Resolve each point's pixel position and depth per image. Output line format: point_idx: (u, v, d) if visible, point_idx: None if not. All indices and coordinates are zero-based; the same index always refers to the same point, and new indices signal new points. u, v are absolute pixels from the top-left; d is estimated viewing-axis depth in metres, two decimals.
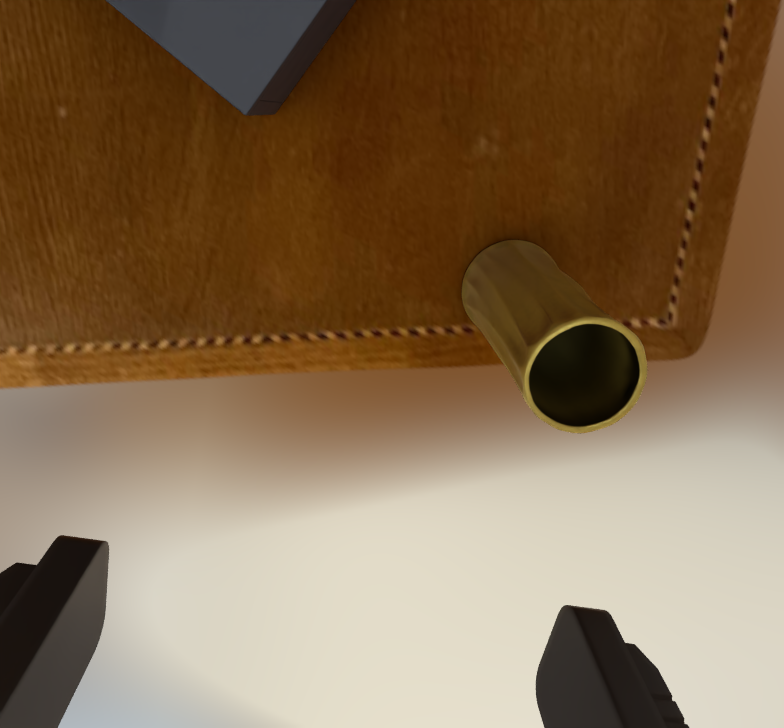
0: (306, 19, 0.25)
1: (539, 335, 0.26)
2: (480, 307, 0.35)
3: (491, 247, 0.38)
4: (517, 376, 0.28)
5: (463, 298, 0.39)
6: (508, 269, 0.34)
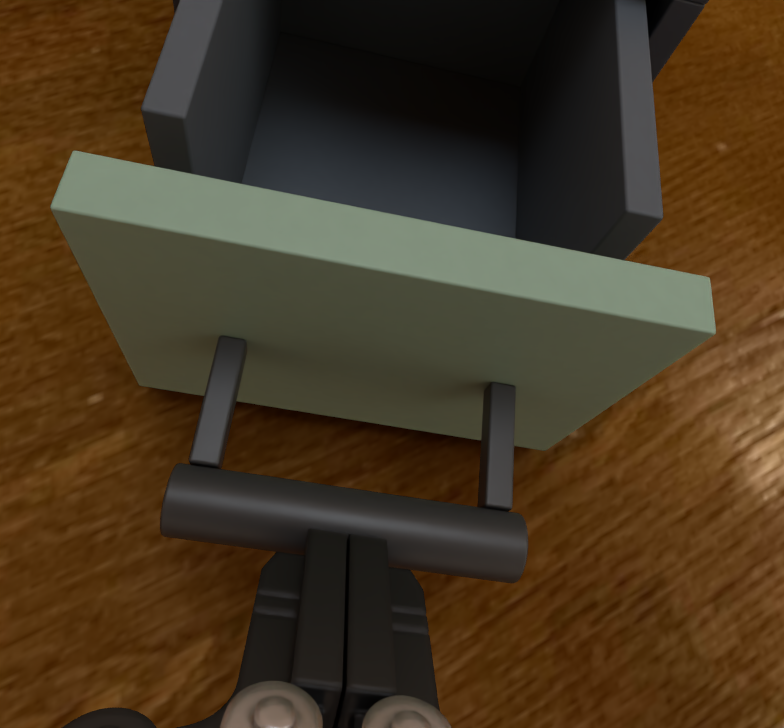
0: None
1: None
2: None
3: None
4: None
5: None
6: None
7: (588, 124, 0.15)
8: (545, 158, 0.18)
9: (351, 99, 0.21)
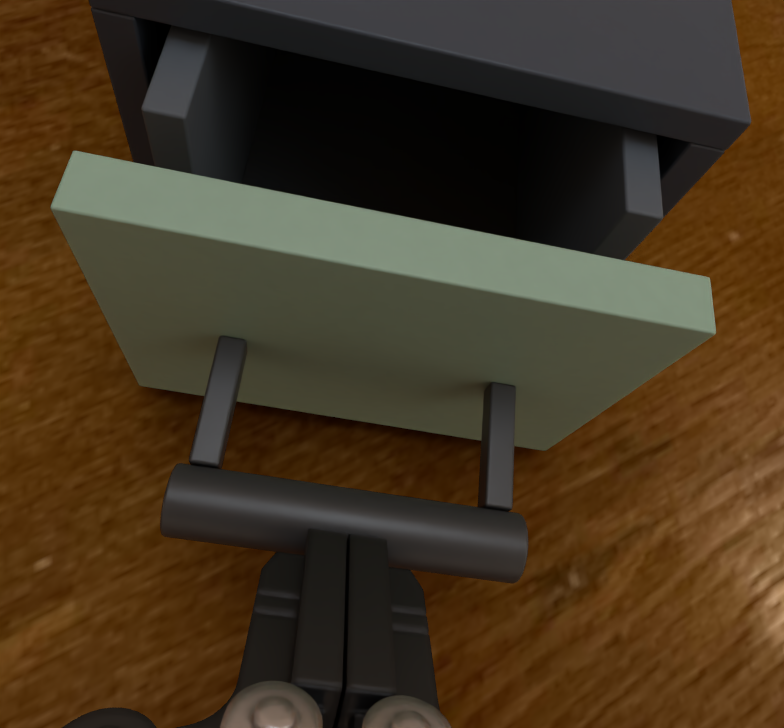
0: None
1: None
2: None
3: None
4: None
5: None
6: None
7: (588, 124, 0.15)
8: (545, 158, 0.18)
9: (351, 99, 0.21)
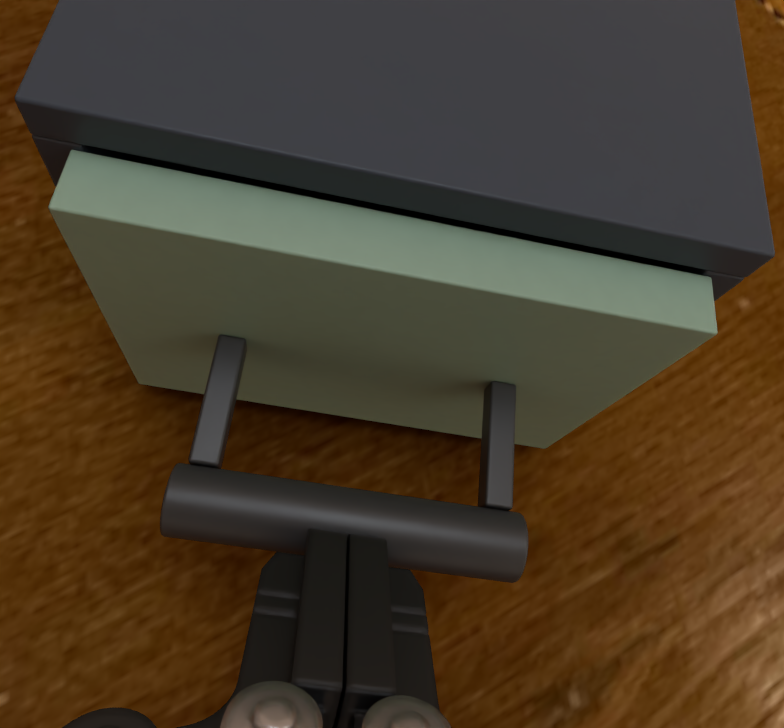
0: None
1: None
2: None
3: None
4: None
5: None
6: None
7: None
8: None
9: None
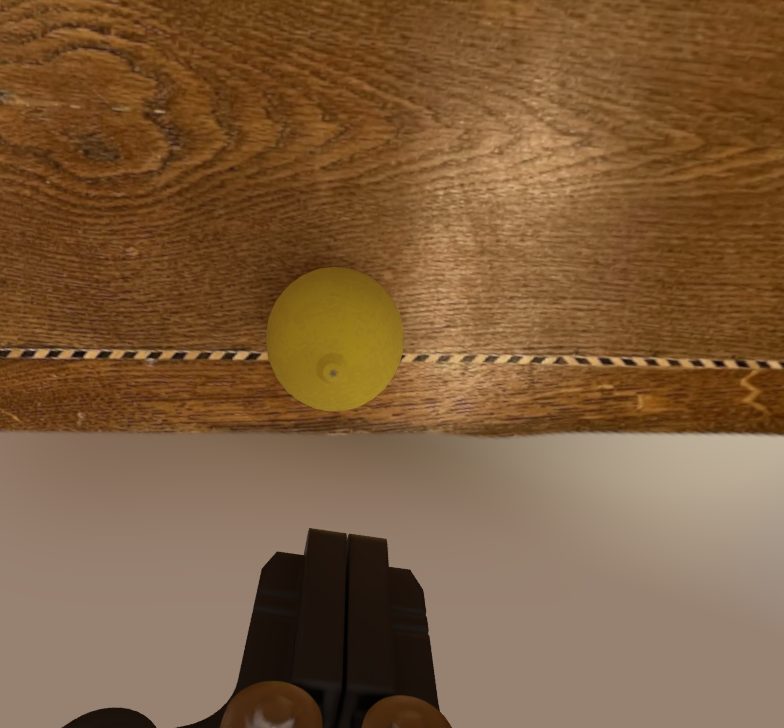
0: None
1: None
2: None
3: None
4: None
5: None
6: None
7: None
8: None
9: None
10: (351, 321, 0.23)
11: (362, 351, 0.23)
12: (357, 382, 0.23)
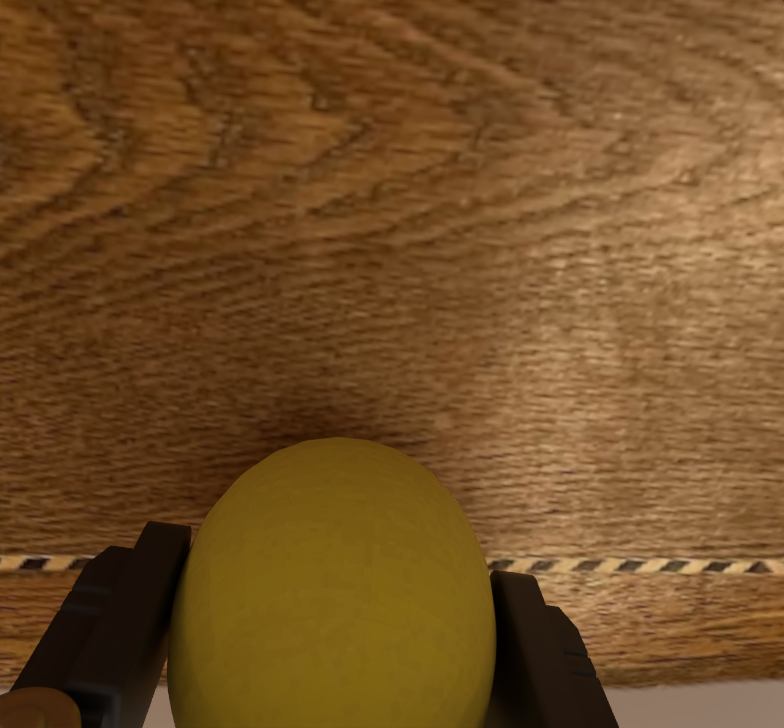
0: None
1: None
2: None
3: None
4: None
5: None
6: None
7: None
8: None
9: None
10: (380, 676, 0.08)
11: None
12: None
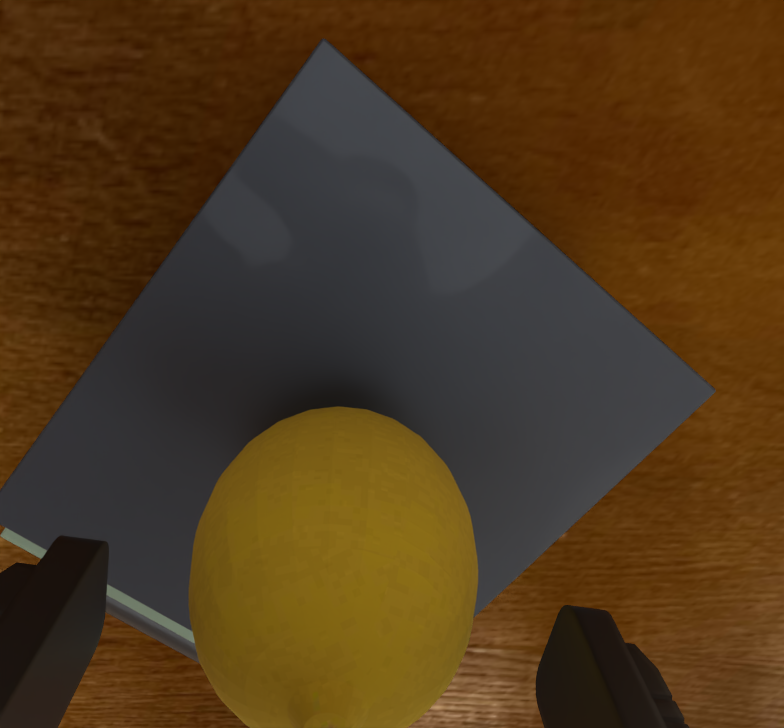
0: (591, 291, 0.15)
1: None
2: None
3: None
4: None
5: None
6: None
7: None
8: None
9: None
10: (373, 596, 0.10)
11: (398, 667, 0.10)
12: (385, 726, 0.10)
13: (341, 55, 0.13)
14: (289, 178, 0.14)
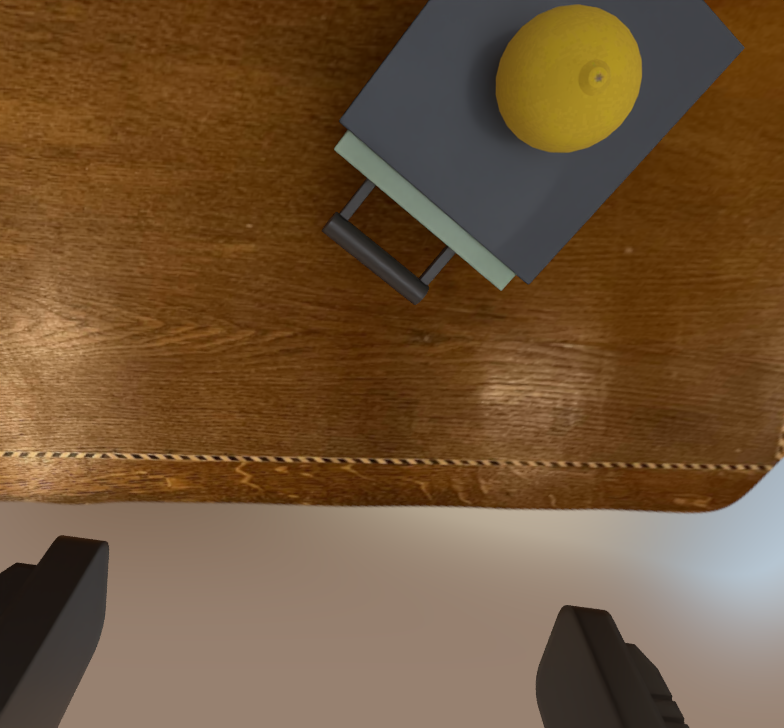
0: None
1: None
2: None
3: None
4: None
5: None
6: None
7: None
8: None
9: None
10: (612, 32, 0.23)
11: (622, 62, 0.23)
12: (613, 96, 0.24)
13: None
14: None
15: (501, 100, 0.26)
